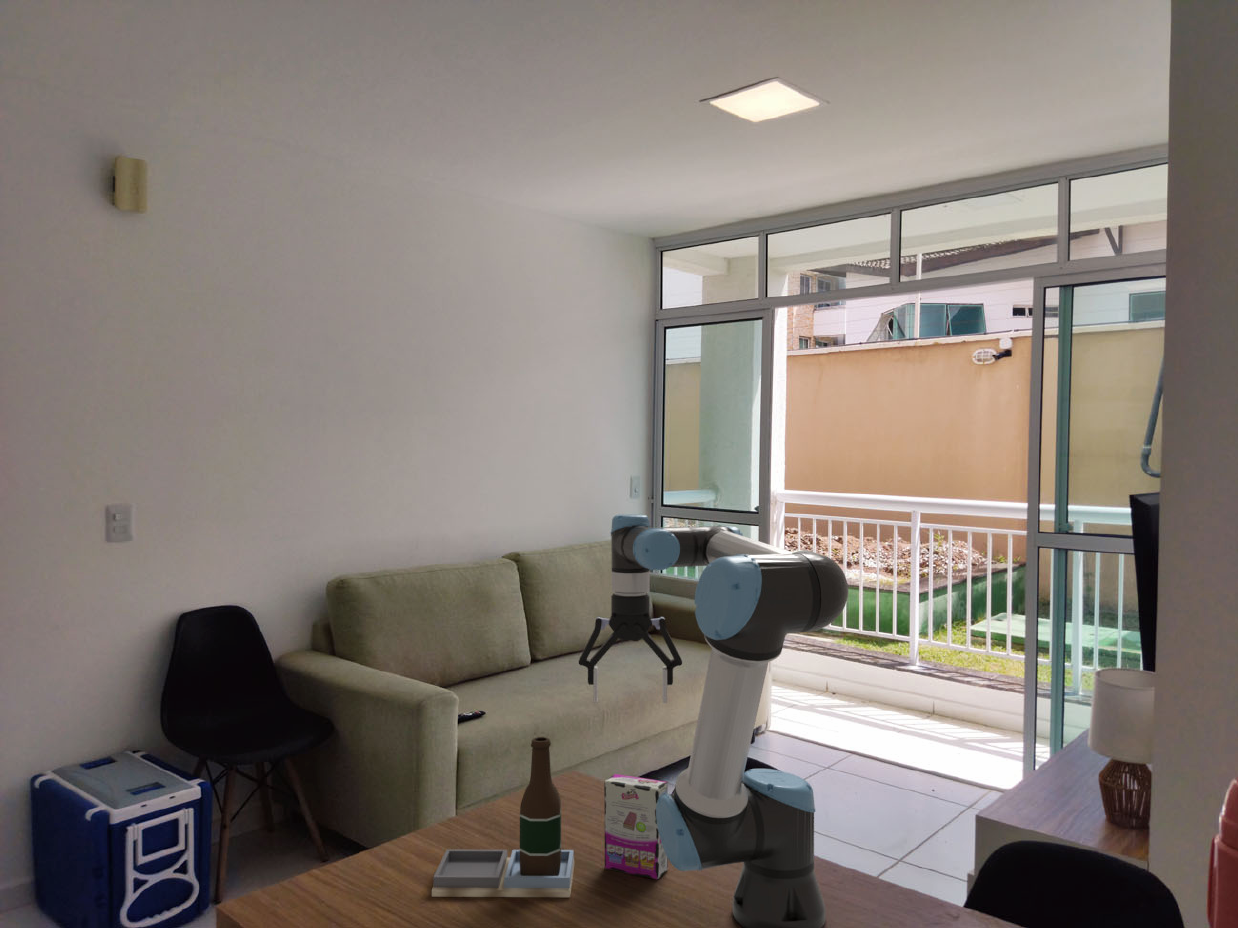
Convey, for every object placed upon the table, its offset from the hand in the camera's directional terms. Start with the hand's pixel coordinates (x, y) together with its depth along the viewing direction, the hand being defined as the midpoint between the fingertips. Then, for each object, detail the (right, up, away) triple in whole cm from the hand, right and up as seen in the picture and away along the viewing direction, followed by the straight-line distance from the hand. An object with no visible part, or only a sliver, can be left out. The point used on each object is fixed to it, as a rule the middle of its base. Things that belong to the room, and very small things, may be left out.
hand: (630, 701), depth 174 cm
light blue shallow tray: (-16, -27, -14) cm, 35 cm away
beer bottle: (-16, -27, -14) cm, 35 cm away
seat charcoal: (-29, -27, -14) cm, 42 cm away
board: (-23, -29, -14) cm, 39 cm away
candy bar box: (+1, -29, -9) cm, 30 cm away
